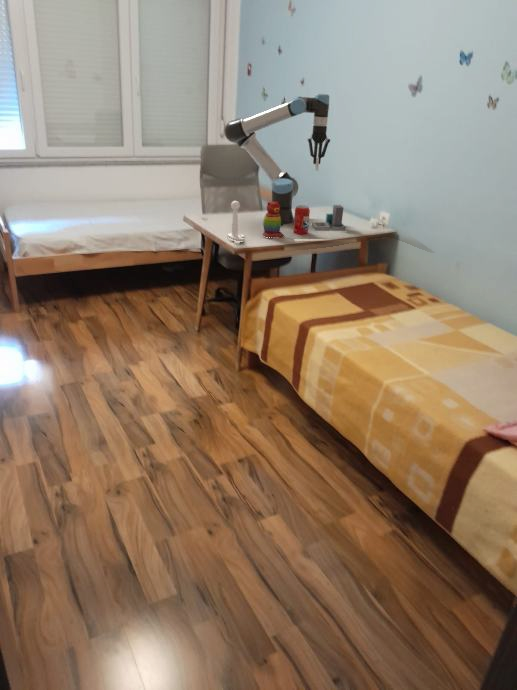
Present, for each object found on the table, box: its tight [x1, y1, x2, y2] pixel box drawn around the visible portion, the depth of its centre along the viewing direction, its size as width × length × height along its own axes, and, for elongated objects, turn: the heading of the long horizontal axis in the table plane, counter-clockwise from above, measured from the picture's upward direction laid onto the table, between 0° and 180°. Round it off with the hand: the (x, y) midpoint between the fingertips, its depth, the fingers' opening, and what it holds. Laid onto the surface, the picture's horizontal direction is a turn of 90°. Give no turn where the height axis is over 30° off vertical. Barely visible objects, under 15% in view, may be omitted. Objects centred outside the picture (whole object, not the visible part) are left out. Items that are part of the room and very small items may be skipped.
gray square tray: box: [309, 221, 348, 233], centre depth 292 cm, size 17×17×3 cm
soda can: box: [292, 204, 311, 236], centre depth 278 cm, size 8×8×15 cm
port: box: [325, 213, 347, 231], centre depth 293 cm, size 8×13×6 cm, turn 9°
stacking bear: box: [262, 201, 285, 239], centre depth 273 cm, size 11×10×18 cm
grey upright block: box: [331, 204, 344, 226], centre depth 290 cm, size 4×6×12 cm, turn 9°
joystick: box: [227, 200, 245, 242], centre depth 263 cm, size 11×8×20 cm
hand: (316, 169), depth 297 cm, fingers closed
